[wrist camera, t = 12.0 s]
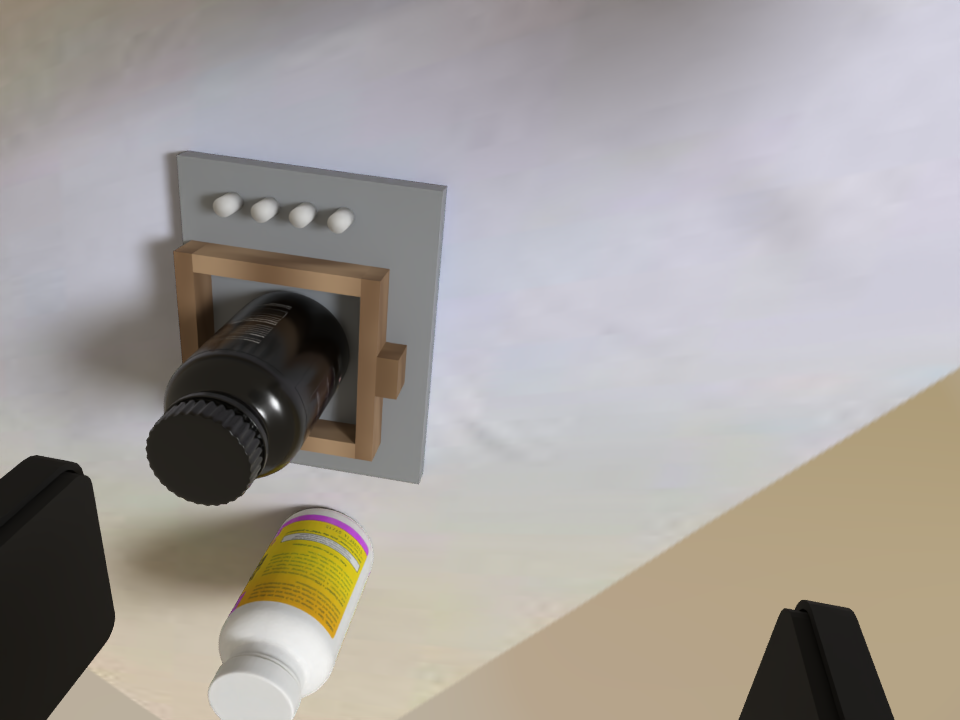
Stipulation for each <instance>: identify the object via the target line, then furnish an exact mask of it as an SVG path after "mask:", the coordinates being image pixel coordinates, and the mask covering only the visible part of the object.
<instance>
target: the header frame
mask: <svg viewBox="0 0 960 720" xmlns="http://www.w3.org/2000/svg"><path fill="white" fill-rule="evenodd" d="M173 253H174V266H175V278H176V290H177V303H178V315H179V327H180V339H181V352H182V364H183V363H184V362H185V361H186V360H187V359H188V358H189V357H190V356H191V355H192V354H193V353H195V352H196V351H197V350H198V349H199V348H200V347H201V346H202V345H203V344H204V343H205V342H206V341H207V340H208V339H209V338H210V337H212V336H213V335H214V334H215V330H214V313H213V296H212V279H211V275H215V276H222V277H229V278H236V279H242V280H249V281H256V282H262V283H269V284H276V285H283V286H289V287H296V288H303V289H309V290H316V291H323V292H330V293H336V294H343V295H350V296H356V297H360V325H359V353H358V382H357V410H356V425H354V424H348V423H342V422H336V421H330V420H323V419H318V421H317V423H316V424H315V426H314V428H313V429H312V431H311V432H310V434H309V436H308V437H307V439H306V441H305V442H304V444H303V445H302V447H301V449H300V450H305V451H311V452H317V453H323V454H329V455H335V456H341V457H347V458H353V459H359V460H365V461H371V462H372V460H373V458H374V456H375V454H376V452H377V450H378V448H379V445H380V443H381V426H382V407H383V398H388V399H395V400H396V399H397V397H398V395H399V393H400V391H401V389H402V387H403V385H404V383H405V368H406V353H407V345H403V344H396V343H390V342H386V331H387V312H388V293H389V274H390V269H386V268H379V267H373V266H366V265H359V264H352V263H345V262H338V261H331V260H325V259H318V258H311V257H304V256H297V255H290V254H283V253H277V252H270V251H263V250H256V249H249V248H242V247H235V246H228V245H222V244H215V243H208V242H201V241H194V240H191V241H189V242H188V243H186V244H184V245H183V246H181V247H180V248H178V249H176V250H175V251H173Z"/></svg>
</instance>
